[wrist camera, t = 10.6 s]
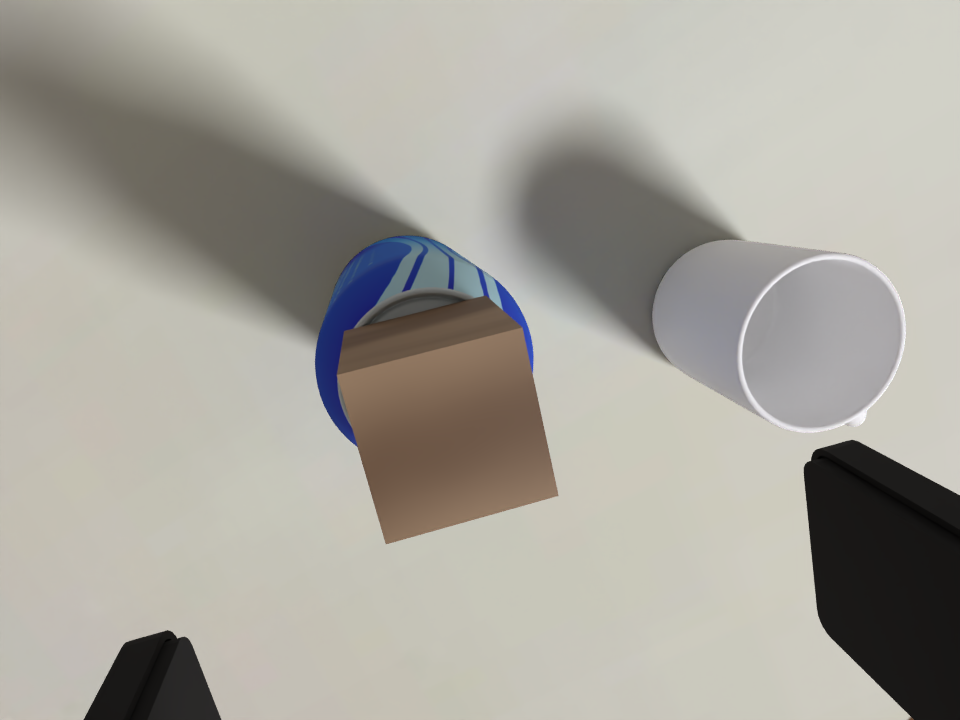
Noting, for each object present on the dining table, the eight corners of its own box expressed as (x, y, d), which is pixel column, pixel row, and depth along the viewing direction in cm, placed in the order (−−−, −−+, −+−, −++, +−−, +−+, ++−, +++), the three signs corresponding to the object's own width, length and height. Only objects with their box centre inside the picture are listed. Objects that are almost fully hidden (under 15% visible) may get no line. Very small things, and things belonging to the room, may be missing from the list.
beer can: (349, 217, 39) (337, 235, 23) (495, 253, 40) (575, 291, 25) (318, 364, 40) (288, 470, 25) (461, 392, 42) (515, 509, 26)
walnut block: (343, 330, 24) (336, 375, 18) (485, 295, 24) (522, 327, 19) (381, 463, 25) (385, 544, 19) (515, 427, 26) (558, 495, 20)
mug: (735, 439, 45) (843, 512, 35) (619, 308, 42) (700, 346, 32) (834, 347, 45) (973, 392, 35) (725, 207, 42) (842, 212, 31)
